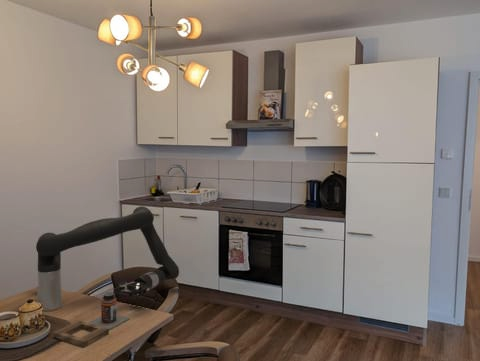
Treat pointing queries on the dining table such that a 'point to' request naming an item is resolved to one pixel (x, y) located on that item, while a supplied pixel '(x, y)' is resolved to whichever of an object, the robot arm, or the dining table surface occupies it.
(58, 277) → the robot arm
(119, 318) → the charcoal mat
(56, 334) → the walnut collar
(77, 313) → the dining table surface
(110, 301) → the supplement bottle
